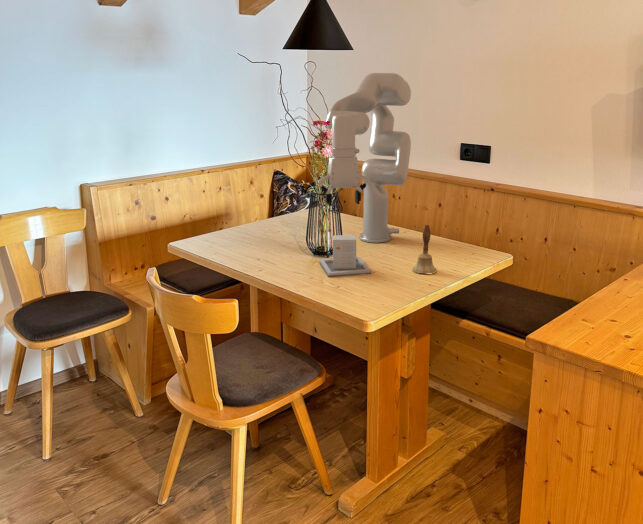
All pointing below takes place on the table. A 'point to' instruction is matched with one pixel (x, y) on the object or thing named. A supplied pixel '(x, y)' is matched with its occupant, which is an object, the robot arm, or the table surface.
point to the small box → (344, 252)
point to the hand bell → (425, 255)
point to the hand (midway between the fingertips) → (343, 204)
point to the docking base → (330, 272)
